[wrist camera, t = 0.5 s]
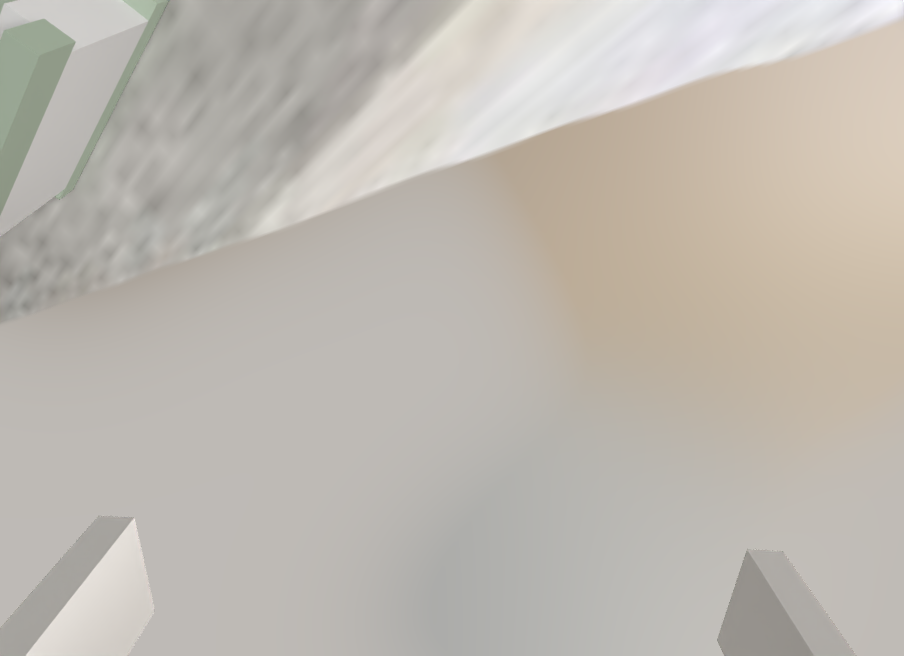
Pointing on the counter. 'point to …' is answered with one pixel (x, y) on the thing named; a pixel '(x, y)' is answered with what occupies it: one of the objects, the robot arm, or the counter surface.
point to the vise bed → (61, 90)
